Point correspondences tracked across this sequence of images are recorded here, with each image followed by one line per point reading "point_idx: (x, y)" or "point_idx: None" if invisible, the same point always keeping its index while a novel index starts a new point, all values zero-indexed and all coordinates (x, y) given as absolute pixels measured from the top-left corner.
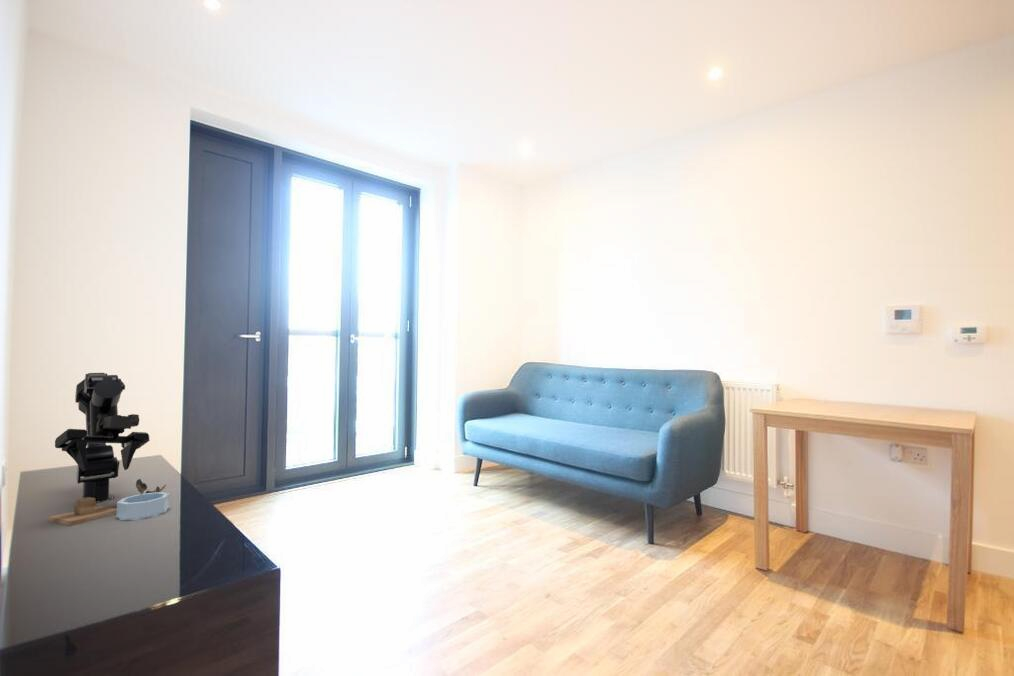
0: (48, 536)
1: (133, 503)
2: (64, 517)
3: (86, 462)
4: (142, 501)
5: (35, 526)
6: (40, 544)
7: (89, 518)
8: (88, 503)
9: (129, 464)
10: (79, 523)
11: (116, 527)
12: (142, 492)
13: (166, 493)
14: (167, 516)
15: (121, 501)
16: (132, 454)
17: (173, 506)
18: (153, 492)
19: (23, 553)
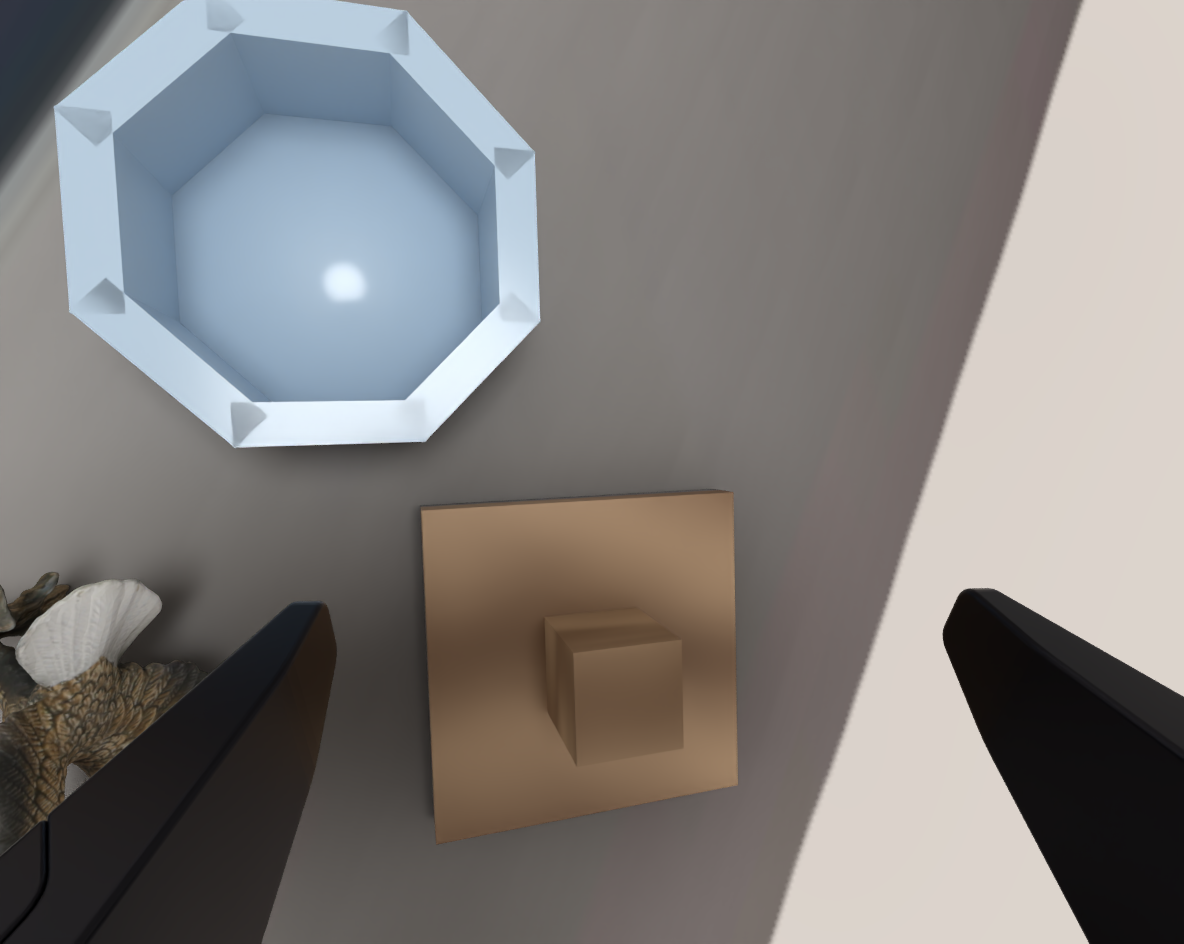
0: (838, 416)
1: (493, 109)
2: (704, 661)
3: (1061, 657)
4: (260, 399)
5: (782, 741)
6: (910, 293)
7: (623, 498)
8: (616, 635)
9: (248, 642)
10: (674, 492)
11: (595, 165)
12: (97, 688)
13: (73, 144)
14: None
15: (504, 313)
16: (20, 869)
17: (25, 279)
18: (6, 607)
19: (992, 217)
